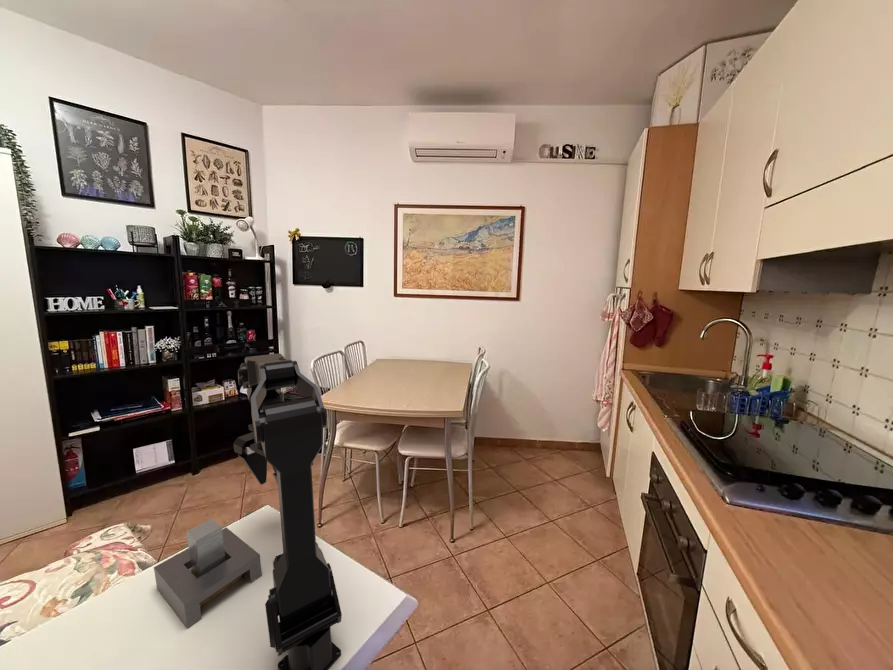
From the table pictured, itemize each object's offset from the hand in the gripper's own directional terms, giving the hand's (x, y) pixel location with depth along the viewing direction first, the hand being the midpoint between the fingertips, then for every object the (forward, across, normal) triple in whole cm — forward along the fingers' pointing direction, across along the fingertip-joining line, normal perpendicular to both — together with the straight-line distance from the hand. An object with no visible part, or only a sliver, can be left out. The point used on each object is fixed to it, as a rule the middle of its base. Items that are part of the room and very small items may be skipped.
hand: (275, 490), depth 69 cm
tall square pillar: (+13, +3, +12) cm, 18 cm away
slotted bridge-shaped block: (+13, +3, +12) cm, 18 cm away
